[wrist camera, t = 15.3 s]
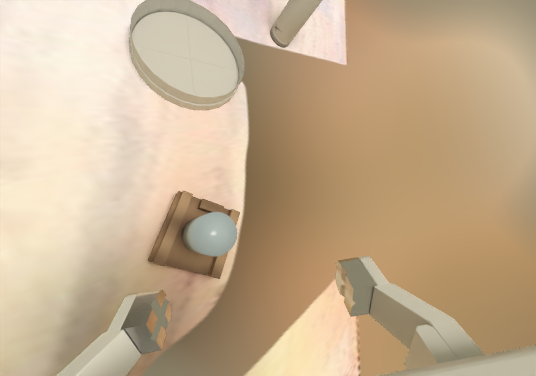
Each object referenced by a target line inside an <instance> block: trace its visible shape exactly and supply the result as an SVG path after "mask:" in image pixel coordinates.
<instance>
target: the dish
mask: <svg viewBox="0 0 536 376" xmlns="http://www.w3.org/2000/svg"><path fill="white" fill-rule="evenodd" d="M129 43H130V52H131V56H132V61H133V64H134V66H135V67H136V69H137V71H138V73H139V75H140V77H141V78H142V79H143V80H144V81H145V82H146V83H147V85H148V86H149V87H150V88H151V89H152V90H153V91H155V92H156V93H157V94H159V95H160V96H161V97H163V98H164V99H166V100H168V101H170V102H172V103H174V104H176V105H178V106H181V107H185V108H189V109H193V110H210V109H214V108H218V107H220V106H222V105H223V104H225V103H227V102H228V101H229V100H230V98H231V97H232V96H233V94H234V93H235V91H236V90H237V88H238V85H239V84H240V82H241V80H242V76H243V74H244V58H243V54H242V50H241V48H240V46H239V44H238V42H237V40H236V38H235V36H234V35H233V34H232V32H231V31H230V30H229V28H228V27H227V26H226V25H225V24H224V23H223V22H222V21H221V20H220V19H219V18H218V17H217V16H216V15H214V14H213V13H211V12H210V11H209V10H207V9H206V8H204V7H202V6H200V5H198V4H196V3H194V2H192V1H190V0H146V1H144V2H143V3H141V4H140V5H138V7H137V8H136V10H135V12H134V13H133V15H132V18H131V26H130V40H129Z"/></svg>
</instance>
